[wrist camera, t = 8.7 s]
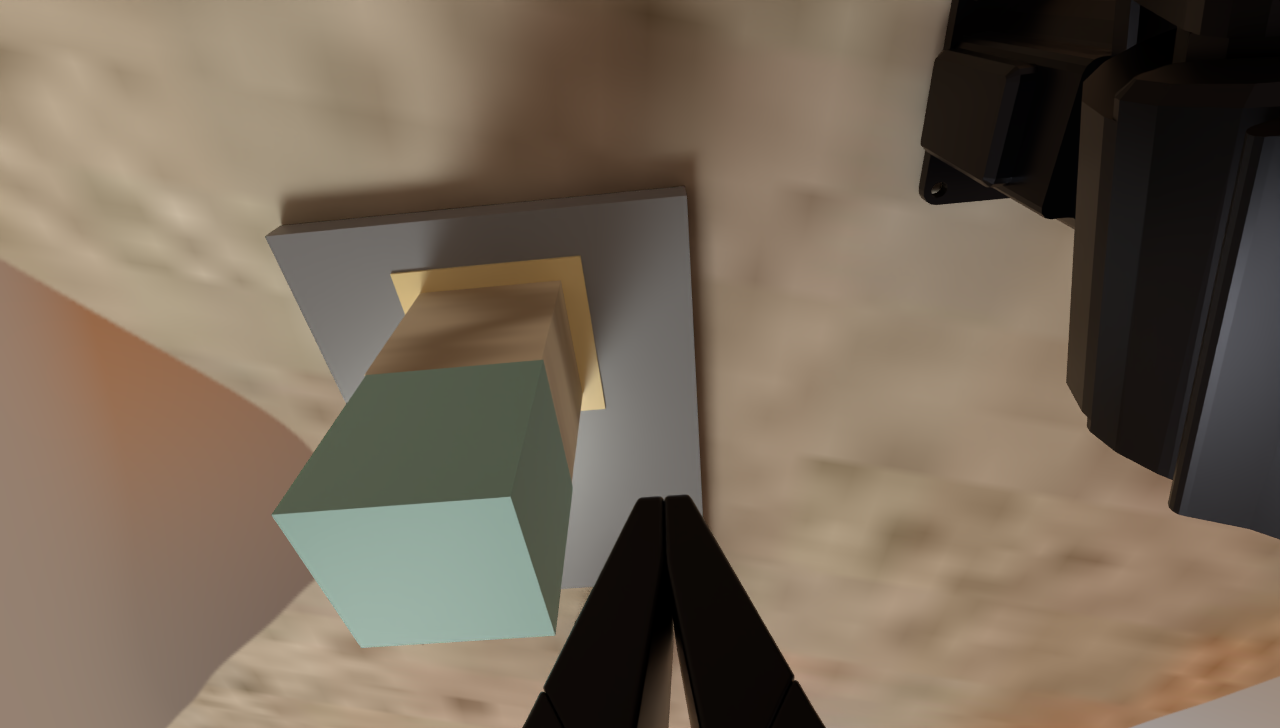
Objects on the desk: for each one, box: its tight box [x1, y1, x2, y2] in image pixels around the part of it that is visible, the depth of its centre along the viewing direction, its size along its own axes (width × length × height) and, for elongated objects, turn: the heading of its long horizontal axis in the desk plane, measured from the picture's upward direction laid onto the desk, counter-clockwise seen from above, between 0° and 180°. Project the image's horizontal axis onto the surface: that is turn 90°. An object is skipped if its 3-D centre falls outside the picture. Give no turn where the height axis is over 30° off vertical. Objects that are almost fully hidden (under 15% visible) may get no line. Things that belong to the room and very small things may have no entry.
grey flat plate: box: [265, 186, 703, 589], centre depth 25 cm, size 14×20×1 cm
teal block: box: [272, 360, 573, 648], centre depth 15 cm, size 5×5×5 cm
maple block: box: [364, 280, 583, 481], centre depth 19 cm, size 5×5×5 cm
